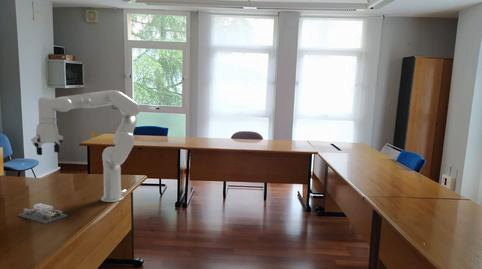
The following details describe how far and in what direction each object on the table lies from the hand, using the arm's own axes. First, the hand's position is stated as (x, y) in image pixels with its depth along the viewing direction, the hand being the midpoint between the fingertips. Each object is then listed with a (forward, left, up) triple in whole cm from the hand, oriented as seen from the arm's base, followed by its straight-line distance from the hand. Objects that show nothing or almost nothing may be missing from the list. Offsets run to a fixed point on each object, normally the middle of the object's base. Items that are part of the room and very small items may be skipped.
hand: (48, 153), depth 181 cm
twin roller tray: (+8, +7, -30) cm, 32 cm away
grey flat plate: (+8, +7, -30) cm, 32 cm away
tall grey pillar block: (+9, +7, -30) cm, 32 cm away
